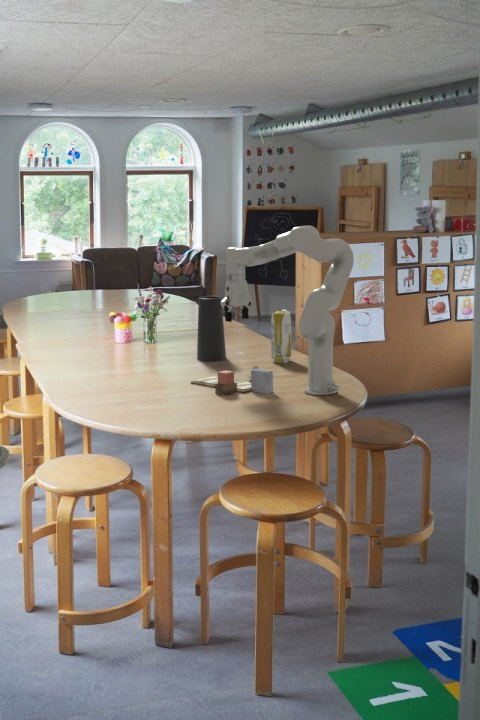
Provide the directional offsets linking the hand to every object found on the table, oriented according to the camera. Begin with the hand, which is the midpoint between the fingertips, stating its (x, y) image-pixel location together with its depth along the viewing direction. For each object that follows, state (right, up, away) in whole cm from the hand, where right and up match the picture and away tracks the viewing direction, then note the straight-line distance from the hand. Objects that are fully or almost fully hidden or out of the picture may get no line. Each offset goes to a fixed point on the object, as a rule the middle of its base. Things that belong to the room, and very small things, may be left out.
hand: (237, 320), depth 359 cm
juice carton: (+20, -17, +47) cm, 54 cm away
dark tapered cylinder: (-12, -16, +57) cm, 60 cm away
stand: (-4, -29, -12) cm, 32 cm away
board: (-4, -27, +1) cm, 27 cm away
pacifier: (+8, -25, +8) cm, 28 cm away
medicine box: (+10, -29, -12) cm, 33 cm away
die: (-4, -25, -13) cm, 29 cm away
